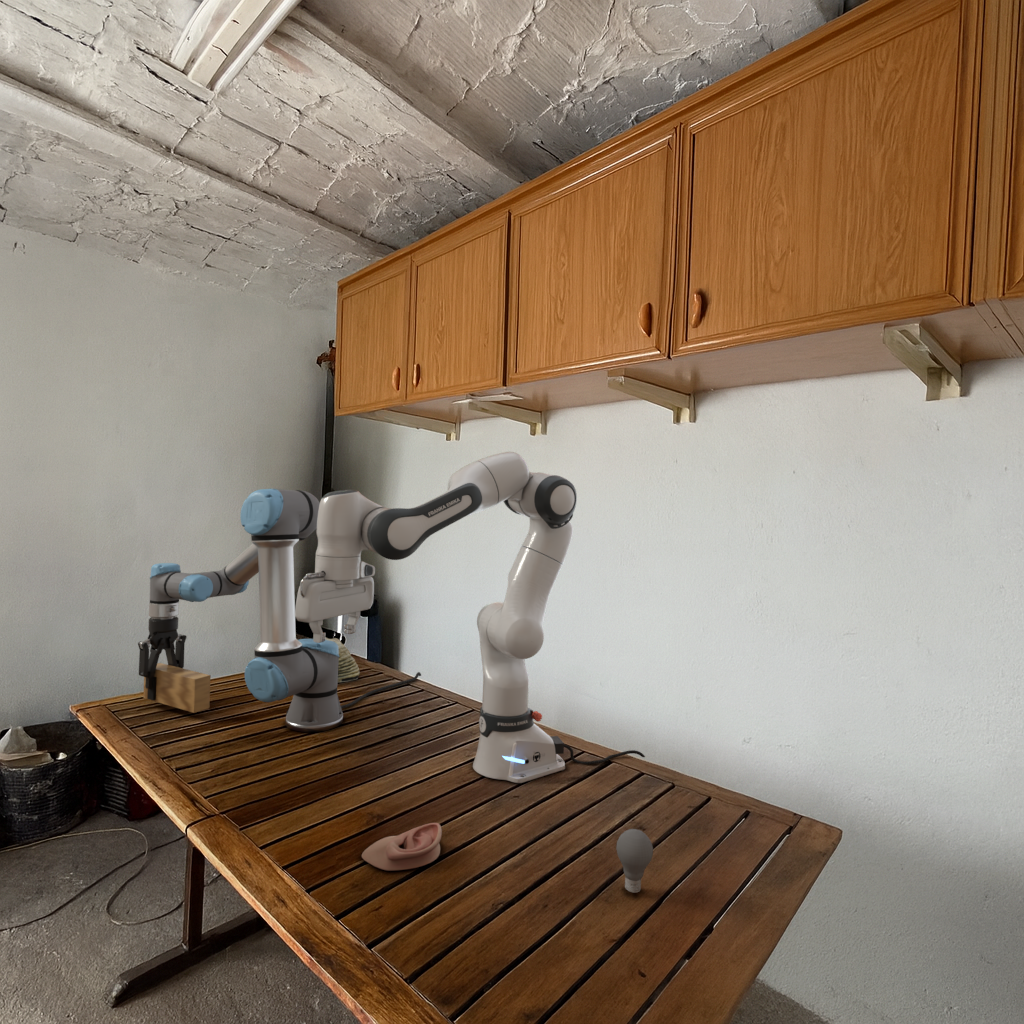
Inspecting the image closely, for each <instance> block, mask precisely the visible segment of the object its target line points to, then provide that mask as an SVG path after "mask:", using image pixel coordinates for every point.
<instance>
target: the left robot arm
mask: <svg viewBox="0 0 1024 1024" xmlns="http://www.w3.org/2000/svg"><path fill="white" fill-rule="evenodd" d="M319 504H320V500H319V499H318V498H317V497H316V496H315V495H313V494H312V493H311V492H308V491H307V490H301V489H283V488H280V489H279V488H261V489H257V490H254V491H252V492H251V493H249V494H248V496H247V497H246V498H245V500H244V501H243V503H242V506H241V509H240V514H239V515H240V524H241V526H242V527H243V530H245V532H246V533H248V534H249V535H250V536H251V538H250V539H251V544H250V545H248V547H247V548H245V549H244V550H243V551H242V552H241V553H240V554H238V555H237V556H236V557H235V558H234V559H233V560H231V561H230V562H228V564H227V565H226V566H224V567H223V568H222V569H220V570H214V571H204V572H193V573H192V572H191V573H190V572H188V573H187V572H182V570H181V565H180V564H178V563H176V562H175V563H174V562H162V563H161V562H160V563H155V564H153V565H152V566H151V568H150V576H149V605H148V617H150V618H148V636H147V639H145V640H143V641H138V642H137V645H138V649H139V656H138V657H139V658H138V676H140V677H142V678H144V677H145V678H146V685H145V687H146V688H147V689H148V695H147V699H146V700H148V699H150V700H149V701H151V700H156V681H157V677H154V674H155V670H156V666H157V663H159V659H160V655H161V654H162V652H163V650H164V652H165V656H166V661H167V665H171V666H175V667H179V668H183V669H184V667H185V643H186V641H187V635H185V634H181V633H178V629H179V617H178V615H179V609H180V601H186V602H190V603H202V602H205V601H206V600H207V599H210V598H215V597H216V598H217V597H224V596H235V595H237V594H241V593H244V592H245V591H246V590H247V589H248V586H249V584H250V580H251V579H252V578H254V577H255V576H256V575H257V574H258V595H259V596H258V597H259V598H258V599H259V629H260V631H259V635H260V641H259V643H257V644H256V646H255V647H254V649H253V650H254V658H252V659H251V660H250V661H249V662H248V663H247V665H246V666H245V669H244V681H245V685H246V687H247V690H248V691H249V693H250V694H252V696H253V697H254V698H255V699H256V700H258V701H260V702H263V703H274V702H276V701H283V700H284V699H286V698H289V697H291V696H293V697H292V699H291V702H290V704H289V708H288V710H286V712H285V726H286V728H287V729H289V730H291V731H294V732H295V731H296V732H301V733H316V732H325V731H329V730H332V729H335V728H337V727H339V726H340V725H342V723H343V722H344V713H343V709H347V708H349V707H351V706H353V705H356V704H357V703H358V702H359V701H362V700H363V699H365V698H367V697H369V696H370V695H373V694H376V693H378V692H381V691H384V690H388V689H391V688H396V687H398V686H402V685H405V684H408V683H412V682H414V681H416V680H417V679H418V678H419V677H422V673H421V672H419V671H418V672H416V674H415V676H414V677H412V678H409V679H406V680H402V681H400V682H396V683H392V684H388V685H385V686H382V687H379V688H375V689H373V690H372V689H371V690H370V691H368V692H366V693H363V694H362V695H361V696H359V697H357V698H356V699H354V700H353V701H350V702H349V703H346V704H345V703H344V704H341V702H340V699H339V695H338V664H339V647H338V645H337V643H335V642H333V641H329V640H325V641H323V642H320V643H317V642H314V641H313V638H300V639H298V638H297V636H296V635H297V632H296V631H297V630H296V617H295V608H296V600H295V599H296V595H295V562H294V561H295V559H294V547H295V545H296V544H297V543H298V542H302V541H304V540H306V539H307V538H308V537H309V536H311V535H312V534H313V533H314V532H316V530H317V517H318V510H319Z"/></svg>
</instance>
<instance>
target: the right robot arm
mask: <svg viewBox="0 0 1024 1024" xmlns="http://www.w3.org/2000/svg"><path fill="white" fill-rule="evenodd" d="M577 498H578V496H577V489H576V487H575V485H574V484H573V483H572V482H571V481H570V480H569V479H567V478H565V477H563V476H560V475H556V474H550V473H547V472H534V471H533V472H531V471H530V470H529V466H528V464H527V461H526V460H525V459H524V458H523V456H522V455H520V454H519V453H517V452H514V451H504V452H499V453H495V454H492V455H489V456H485V457H482V458H480V459H478V460H475V461H473V462H471V463H468V464H466V465H464V466H463V467H461V468H460V469H457V470H456V471H455V472H453V473H452V474H450V477H449V479H448V482H447V490H446V491H445V492H444V493H442V494H439V495H438V496H436V497H434V498H432V499H429V500H427V501H425V502H424V503H421V504H419V505H417V506H415V507H410V508H404V507H403V508H401V507H398V508H396V507H395V508H394V507H393V508H391V507H385V506H384V505H381V504H379V503H376V502H375V501H373V500H370V499H369V498H367V497H366V496H365V495H363V494H362V493H361V492H360V491H359V490H356V489H343V490H342V489H341V490H335V491H329V492H327V493H326V494H324V495H323V496H322V497H321V499H320V500H319V502H320V504H319V510H318V517H317V528H316V537H317V547H316V550H315V559H314V561H315V562H314V572H308V573H306V574H305V575H304V576H303V578H302V579H301V580H300V583H299V586H298V590H297V595H296V600H295V619H296V621H297V622H302V623H307V624H308V625H309V627H310V629H311V632H312V633H313V637H312V639H313V641H314V642H317V643H320V642H323V641H325V637H326V632H323V629H322V626H323V625H324V624H323V623H324V620H328V619H333V618H337V617H342V616H348V620H347V622H346V624H344V625H343V627H344V629H343V633H344V634H346V635H353V634H355V633H356V627H357V624H358V621H359V620H360V616H361V612H363V611H366V610H370V609H371V607H372V606H373V604H374V595H375V582H374V581H375V580H374V578H373V576H375V574H376V567H375V566H374V565H372V564H370V563H368V562H365V561H363V560H362V559H361V555H362V552H363V551H370V552H373V553H374V554H378V555H380V556H381V557H382V558H384V559H388V560H390V561H398V560H404V559H406V558H408V557H410V556H411V555H413V554H414V553H415V552H416V551H417V550H418V549H419V547H421V545H422V544H423V543H424V542H425V541H426V540H427V539H428V538H429V537H431V536H432V535H434V534H436V533H438V532H440V531H441V530H443V529H444V528H447V527H448V526H450V525H452V524H454V523H456V522H458V521H460V520H462V519H464V518H465V517H468V516H471V515H475V514H478V513H482V512H484V511H486V510H488V509H491V508H493V507H496V506H497V505H499V504H501V503H504V505H505V506H506V507H507V508H508V509H509V510H510V511H511V512H513V513H515V514H517V515H521V516H524V517H526V518H529V528H528V532H527V534H526V536H525V538H524V540H523V542H522V544H521V546H520V548H519V550H518V553H517V554H516V557H515V559H514V562H513V563H512V565H511V568H510V569H509V572H508V573H507V574H508V575H507V586H506V592H505V597H504V601H494V602H490V603H489V602H488V603H487V604H486V605H484V606H482V607H481V609H480V610H479V612H478V614H477V618H476V626H477V630H478V634H479V635H478V636H479V648H480V658H481V665H482V699H481V701H482V702H481V706H480V709H479V710H480V711H479V718H478V719H479V720H478V729H479V738H478V744H477V747H476V748H477V749H476V753H475V757H474V760H473V763H472V769H473V770H474V771H475V772H476V773H477V774H479V775H481V776H482V777H486V778H490V779H494V780H502V781H508V782H511V783H515V784H522V783H526V782H529V781H532V780H535V779H538V778H542V777H544V776H548V775H552V774H554V773H557V772H560V771H564V770H566V763H565V760H564V759H563V758H562V757H561V756H560V755H563V754H564V753H565V749H567V750H568V751H569V753H570V754H569V755H570V760H571V762H574V764H581V765H589V766H590V765H598V764H603V763H605V762H607V761H609V760H610V759H614V758H617V757H622V756H625V755H629V754H635V755H638V756H640V757H641V758H646V755H645V754H644V753H642V752H641V751H638V750H635V749H634V750H633V749H632V750H630V749H629V750H625V751H621V752H618V753H614V754H611V755H608V756H606V757H605V758H602V759H598V760H589V761H582V760H577V759H576V758H575V757H574V749H573V748H572V747H571V746H570V745H568V744H565V743H564V741H563V740H562V739H561V738H560V736H558V735H549V734H548V733H547V732H545V730H544V729H542V728H541V727H540V726H538V725H537V724H536V723H535V722H534V721H536V722H541V721H542V719H543V714H542V713H540V712H539V711H538V710H533V709H532V708H530V707H529V693H530V692H529V690H530V676H529V672H528V669H527V665H526V660H528V659H531V658H532V657H534V656H535V655H537V654H538V653H539V652H540V650H541V649H542V648H543V645H544V640H545V635H544V634H545V633H544V621H545V618H546V617H545V616H546V612H547V606H548V602H549V599H550V597H551V596H550V595H551V592H552V590H553V588H554V585H555V583H556V581H557V578H558V576H559V574H560V572H561V570H562V567H563V565H564V563H565V561H566V559H567V555H568V553H569V550H570V546H571V542H572V540H573V539H572V538H573V535H574V526H573V524H572V522H571V520H572V518H574V517H573V516H574V512H575V510H576V507H577V500H578V499H577Z"/></svg>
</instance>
